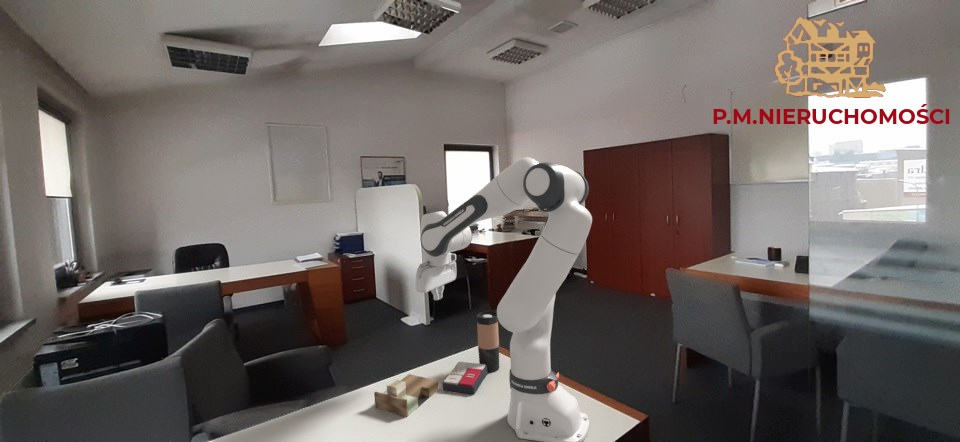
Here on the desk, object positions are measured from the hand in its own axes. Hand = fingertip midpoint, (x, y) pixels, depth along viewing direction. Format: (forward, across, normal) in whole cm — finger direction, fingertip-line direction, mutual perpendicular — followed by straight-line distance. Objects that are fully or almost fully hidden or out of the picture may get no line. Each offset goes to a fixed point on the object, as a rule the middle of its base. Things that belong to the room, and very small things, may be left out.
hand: (438, 299), depth 132 cm
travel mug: (+29, +14, -11) cm, 34 cm away
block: (+26, -19, +5) cm, 32 cm away
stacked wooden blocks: (+29, -14, +4) cm, 32 cm away
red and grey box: (+29, +2, -8) cm, 31 cm away
